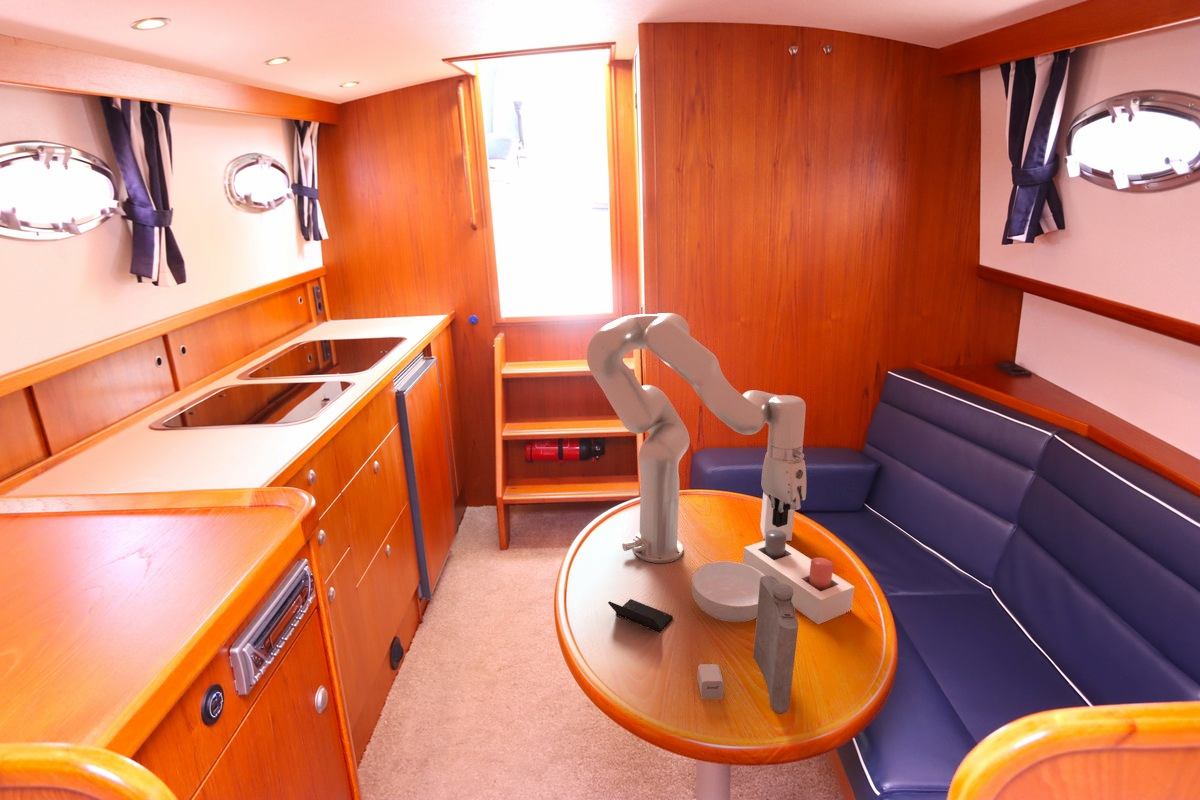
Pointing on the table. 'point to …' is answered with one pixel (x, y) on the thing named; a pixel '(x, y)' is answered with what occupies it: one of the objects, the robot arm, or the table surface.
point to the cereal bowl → (727, 590)
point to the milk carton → (768, 516)
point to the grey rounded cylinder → (775, 544)
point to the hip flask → (776, 640)
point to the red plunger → (820, 573)
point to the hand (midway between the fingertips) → (779, 524)
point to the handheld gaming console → (643, 615)
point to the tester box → (802, 583)
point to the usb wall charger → (710, 681)
